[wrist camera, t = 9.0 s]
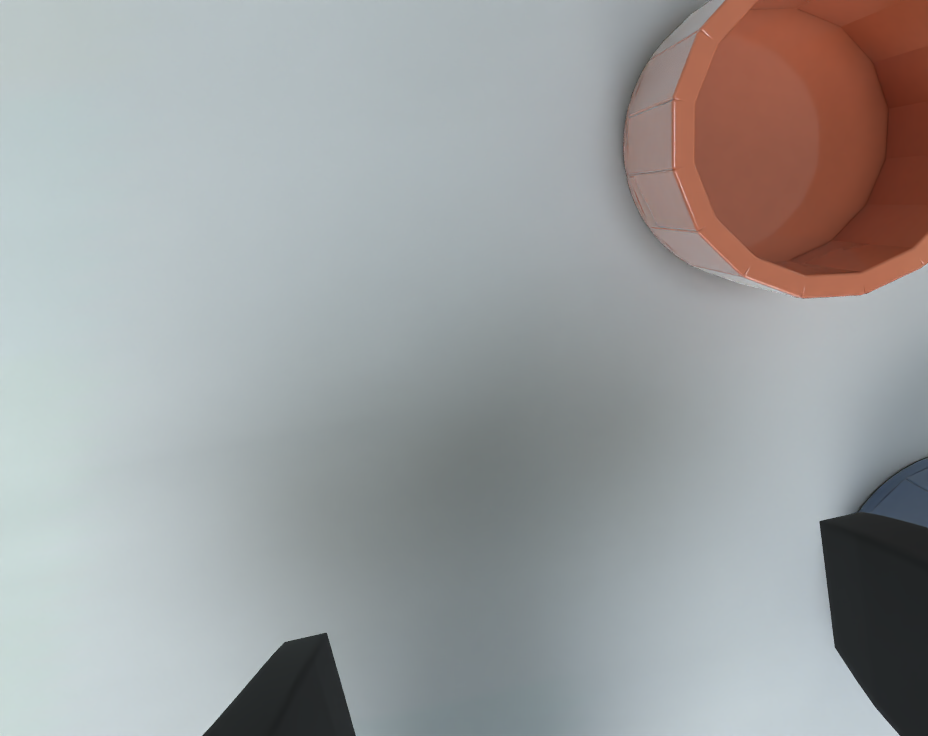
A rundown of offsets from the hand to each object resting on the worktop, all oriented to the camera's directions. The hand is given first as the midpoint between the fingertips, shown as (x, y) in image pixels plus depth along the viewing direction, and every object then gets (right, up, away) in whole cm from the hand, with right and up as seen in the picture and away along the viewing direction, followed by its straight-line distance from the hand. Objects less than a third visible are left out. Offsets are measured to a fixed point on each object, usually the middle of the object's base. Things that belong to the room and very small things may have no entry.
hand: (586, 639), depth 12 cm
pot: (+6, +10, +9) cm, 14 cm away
